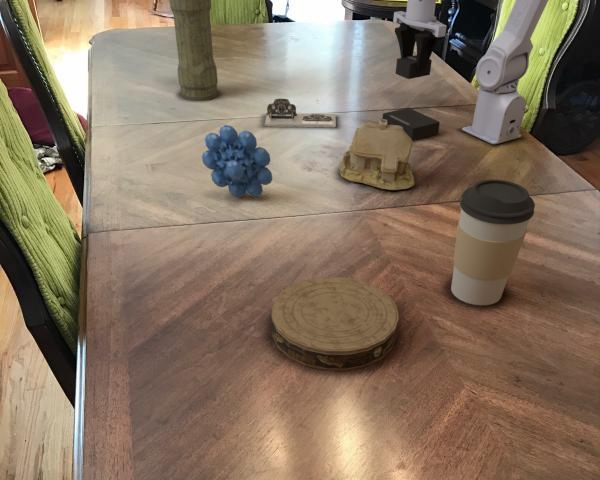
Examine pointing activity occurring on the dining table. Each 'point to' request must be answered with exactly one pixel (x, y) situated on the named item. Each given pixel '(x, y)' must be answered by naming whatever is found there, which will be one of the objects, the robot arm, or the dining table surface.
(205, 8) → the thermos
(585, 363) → the dining table surface
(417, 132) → the base pad
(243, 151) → the blue knobbed flower
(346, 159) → the ceramic model
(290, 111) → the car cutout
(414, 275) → the dining table surface
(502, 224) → the coffee cup
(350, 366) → the wood slice
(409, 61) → the black rectangular block
